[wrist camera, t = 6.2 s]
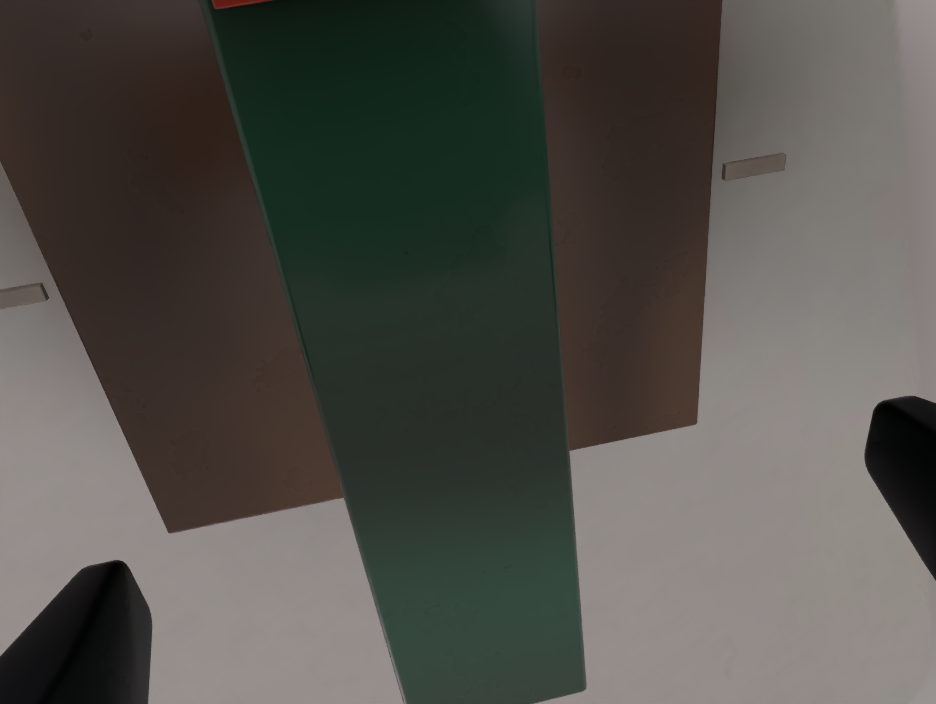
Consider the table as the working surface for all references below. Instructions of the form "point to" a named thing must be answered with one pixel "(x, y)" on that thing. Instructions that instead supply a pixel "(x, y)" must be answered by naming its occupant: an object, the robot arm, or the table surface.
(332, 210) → the book
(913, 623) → the table surface
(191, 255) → the brown wooden square board
